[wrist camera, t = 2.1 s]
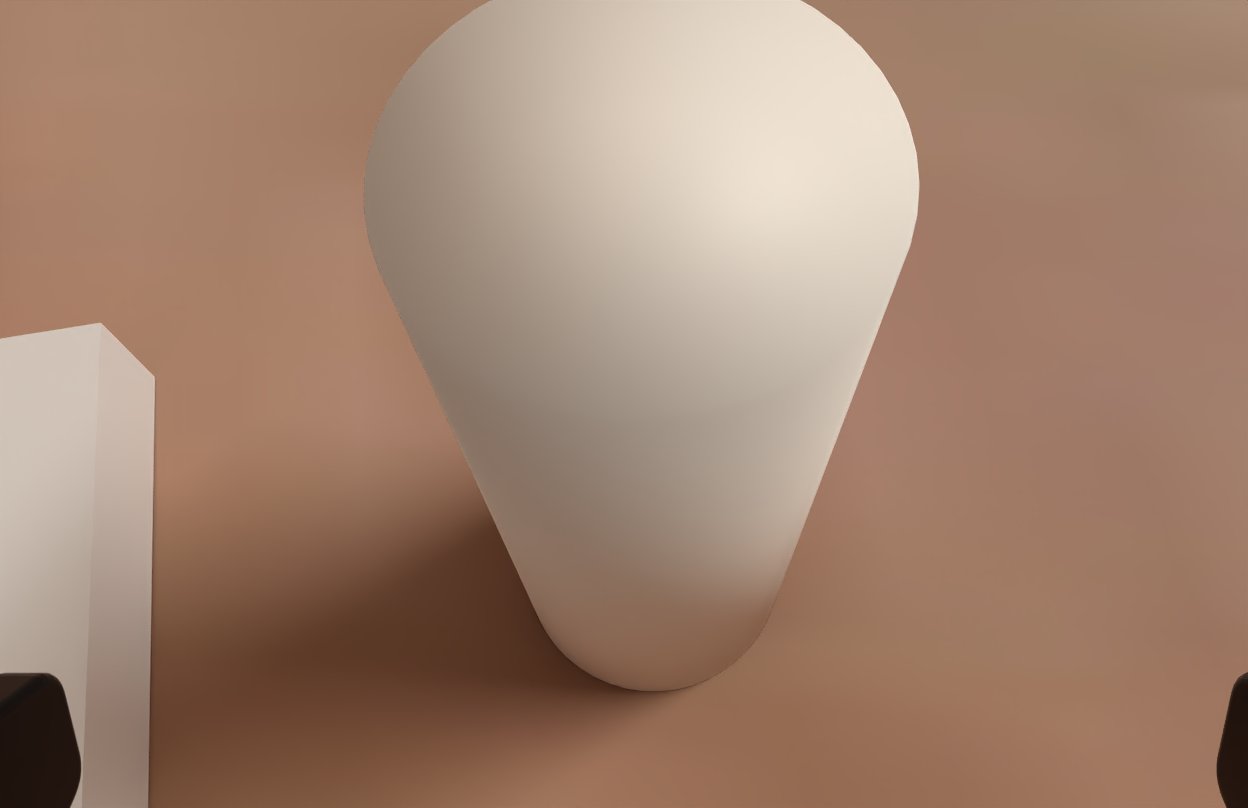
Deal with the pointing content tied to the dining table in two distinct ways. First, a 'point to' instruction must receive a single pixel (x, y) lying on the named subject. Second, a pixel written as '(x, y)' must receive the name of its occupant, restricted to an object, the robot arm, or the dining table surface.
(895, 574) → the dining table surface
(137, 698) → the base plate
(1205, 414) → the dining table surface
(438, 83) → the cream vase
